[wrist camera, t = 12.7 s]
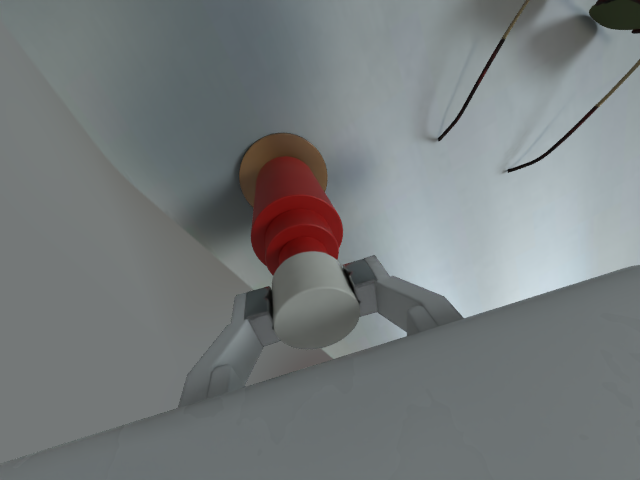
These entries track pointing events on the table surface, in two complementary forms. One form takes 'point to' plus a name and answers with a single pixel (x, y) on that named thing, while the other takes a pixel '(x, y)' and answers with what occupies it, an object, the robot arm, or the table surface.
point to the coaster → (272, 149)
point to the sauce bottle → (302, 256)
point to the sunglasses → (609, 11)
